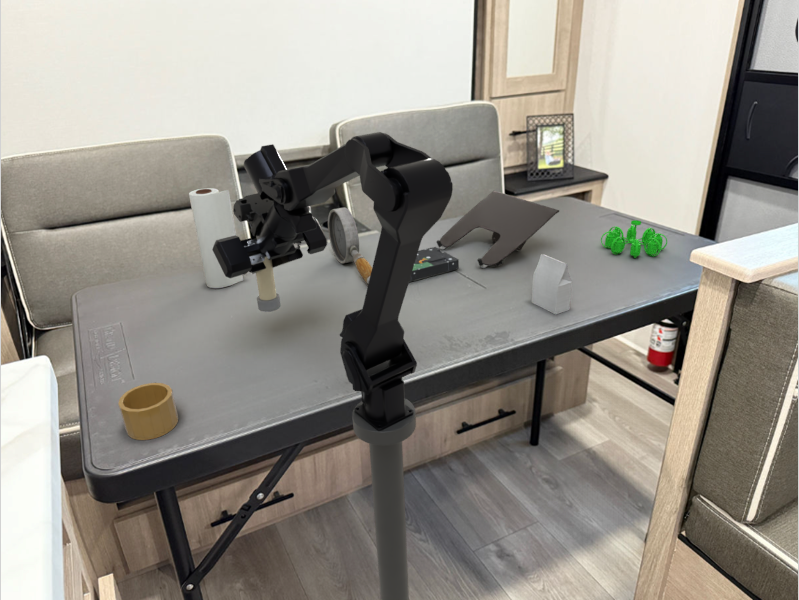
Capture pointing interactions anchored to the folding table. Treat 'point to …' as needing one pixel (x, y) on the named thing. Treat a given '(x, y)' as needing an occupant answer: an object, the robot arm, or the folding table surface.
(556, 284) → the white gabled box
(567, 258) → the folding table surface
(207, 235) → the paper towel roll
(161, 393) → the holder
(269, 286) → the kitchen roll stand
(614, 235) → the chandelier
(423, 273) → the disk drive
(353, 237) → the magnifying glass
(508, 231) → the laptop tray
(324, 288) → the folding table surface
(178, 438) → the folding table surface
